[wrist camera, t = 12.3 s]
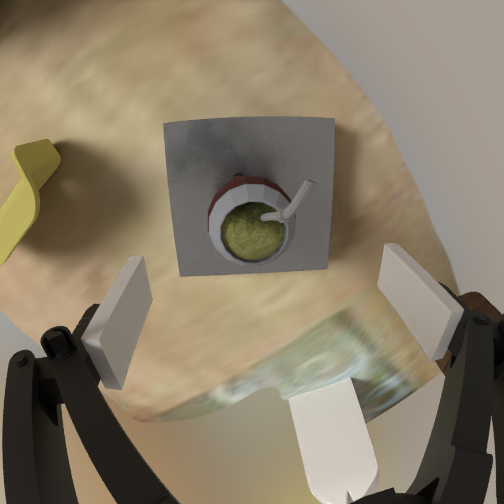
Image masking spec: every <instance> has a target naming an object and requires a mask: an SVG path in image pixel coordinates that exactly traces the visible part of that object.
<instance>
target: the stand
mask: <svg viewBox="0 0 504 504" xmlns="http://www.w3.org/2000/svg"><path fill="white" fill-rule="evenodd" d="M163 126H164V141H165V154H166V166H167V177H168V187H169V196H170V205H171V214H172V222H173V230H174V237H175V245H176V252H177V259H178V265H179V272H180V277H186V276H209V275H231V274H251V273H269V272H287V271H303V270H319V269H327V266H328V255H329V244H330V232H331V218H332V202H333V183H334V156H335V119H334V118H316V117H232V118H214V119H201V120H189V121H179V122H170V123H163ZM237 173H242V176H257V177H263V178H265V179H267V180H269V181H271V182H273V183H275V184H277V185H279V186H280V188H281V189H282V190H283V191H284V192H285V193H286V194H287V195H288V196H289V197H290V199H291V202H292V200H293V199H294V197H295V196H296V194H297V192H298V191H299V189H300V188H301V186H302V185H303V183H304V182H305V180H306V179H308V180H311V181H314V182H316V185H315V186H314V188H313V189H312V191H311V192H310V194H309V195H308V197H307V198H306V200H305V201H304V203H303V204H302V205H301V207H300V208H299V210H298V211H297V212H296V213H295V215H296V227H295V236H294V238H293V240H292V242H291V244H290V245H289V247H288V249H287V251H286V252H284V253H283V254H282V255H281V256H280V257H278V258H277V259H276V260H275V261H273V262H270V263H267V264H264V265H261V266H241V265H239V264H236V263H234V262H231V261H229V260H227V259H226V258H225V257H224V256H223V255H222V254H220V253H219V252H218V251H217V250H216V249H215V246H214V244H213V242H212V240H211V237H210V235H209V232H208V209H209V206H210V204H211V202H212V200H213V197H214V195H215V194H216V193H217V192H218V191H219V190H220V189H221V188H222V187H223V186H224V185H225V184H226V183H227V182H229V181H230V180H231V179H233V178H234V175H235V174H237Z"/></svg>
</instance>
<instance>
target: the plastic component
mask: <svg viewBox="0 0 504 504" xmlns="http://www.w3.org/2000/svg"><path fill="white" fill-rule="evenodd" d="M11 157H12V160H13V162H14V164H15V166H16V168H17V170H18V172H19V174H20V176H21V179H20V181H19V182H18V184H17V185H16V187H15V188H14V190H13V191H12V193H11V194H10V196H9V197H8V199H7V200H6V202H5V203H4V205H3V207H2V208H1V210H0V266H1V265H2V264H3V263H5V262H6V261H7V259H8V258H9V257H10V255H11V254H12V252H13V251H14V249H15V248H16V246H17V245H18V244H19V242H20V241H21V239H22V238H23V237H24V235H25V234H26V233H27V231H28V230H29V229H30V227H31V226H32V225H33V223H34V222H35V221H36V219H37V217H38V214H39V210H40V196H39V190H40V188H41V187H42V186H43V185H44V183H45V182H46V181H47V180H48V179H49V177H50V176H51V175H52V174H53V173H54V171H55V170H56V169H57V168H58V166H59V165H60V163H61V156H60V155H59V153H58V152H57V150H56V149H55V148H54V146H53V145H52V143H51V142H50V140H49V139H44V140H40V141H35V142H31V143H27V144H23V145H19V146H16V148H15V149H14V150H13V152H12V155H11Z"/></svg>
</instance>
